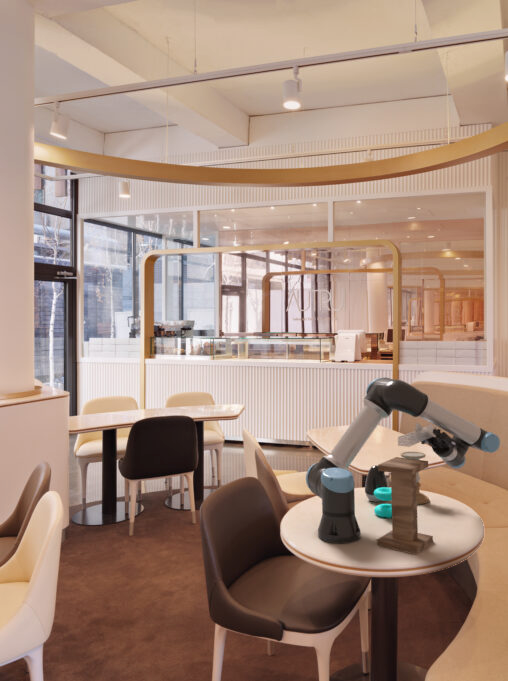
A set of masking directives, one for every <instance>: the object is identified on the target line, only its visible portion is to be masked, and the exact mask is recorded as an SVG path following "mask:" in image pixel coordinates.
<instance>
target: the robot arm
mask: <svg viewBox="0 0 508 681" xmlns="http://www.w3.org/2000/svg"><path fill="white" fill-rule="evenodd" d="M365 393H366V395H365V397H364V398H363V400H362V402H363V406H362V408H361V409H360V410H359V412H358V414H356V416H355V418H354V419H353V421H352V422H351V423H350V425H349V426H348V428H347V429H346V430H345V432H344V433H343V435H342V436H341V437H340V438H339V440H338V441H337V443H336V444H335V446H334V447H333V449H332V450H331V452H330V453H329V454H328V455H322V457H321V458H320V460H319V461H318V462H315V463H313V464H312V465H311V466H310V467H309V468H308V470H306V474H305V482H306V485H307V488H308V489H309V490H310V491H311V493H312V494H314V495H315V496H317V497H318V498H320V499H321V506H322V510H321V511H322V515H321V518H320V522H319V525H318V529H317V536H318V538H319V539H320V540H322V541H324V542H327V543H331V544H333V543H334V544H349V543H354V542H357V541H358V540H360V538H361V528H360V526H359V523H358V520H357V517H356V513H355V512H356V507H355V504H356V503H355V486H356V485H355V479H354V478H355V477H354V474H353V473H352V472H351V471H350V470H349V469H348V468H349V467H350V465H351V464H352V463H353V461H354V460H355V458H356V457H357V456H358V454H359V452H360V451H361V449H362V448H363V447H364V445H365V444H366V443H367V441H368V439H369V438H370V437H371V435H372V433H373V432H374V431H375V430H376V428H377V426H378V425H379V424H380V423H381V421H382V420H383V419H387V418H389V417H390V415H391V414H392V412H393V411H398V412H400V413H405V414H408V415H409V416H412V417H414V418H418V417H419V418H421V419H423V420H424V421H426V422H429V423H428V425H427V427H428V429H427V431H428V432H429V433H430V434H431V435H432V436H433V437H431V438H429V439H426V440H424V441H422V442H420V443H421V445H425V444H428V445H429V446H430V447H431V449H432V451H433V453H435V454H436V455H437V456H438V457H440V459H441V460H442V461H443V462H444V463H445V464H446V465H447V466H449V467H450V468H452V469H460V468H463V466H464V465H465V464H466V456H465V455H467V454H466V453H467V452H468V450H469V449H470V448H473V449H476V450H480V451H483V452H484V453H495V452H497V451H498V450H499V448H500V445H501V439H500V437H499V436H498V435H497V434H495V433H493V432H490V431H486V430H485V429H483V428H481V427H479V426H478V425H476V424H475V423H473V422H471V421H469V420H467V419H466V418H464V417H462V416H460V415H458V414H457V413H454V412H453V411H451V410H450V409H447V408H445V407H444V406H442V405H440V404H438V403H437V402H435V401H433V400H431V399H430V398H429V396H428V394H426V393H424V392H423V391H421V390H420V389H418V388H416V387H415V386H413V385H411V384H410V383H409V382H406V381H404V380H401V379H394V378H390V377H379V378H375V379H373V380H372V381H371V382H369V383H368V385H367V387H366V392H365ZM433 425H434V426H433ZM423 427H424V426H422V425H421V424H420V423H419V422H415V427H414V431H415V430H418V429H421V428H423ZM434 427H436V429H435V428H434ZM437 428H438V429H437ZM442 430H444V431H442ZM441 431H442V432H441ZM447 433H449V434H451V436H452V437H451V436H449V435H448V434H447Z"/></svg>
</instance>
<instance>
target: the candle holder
mask: <svg viewBox="0 0 508 681" xmlns="http://www.w3.org/2000/svg"><path fill="white" fill-rule="evenodd" d="M426 456H427V455H426V453H424V452H421V451H404V452H401V453H400V458H407V459H415V460H421V459H424V458H425V457H426ZM419 473H420V472H417V473H416V483H417V505H425V504H427V503H429V500H430V498H429V496H427V495H426V494H425V493H422V492H420V488H421V486H422V485H421V483H420V481H421V477H420V474H419Z"/></svg>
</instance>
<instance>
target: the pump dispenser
mask: <svg viewBox="0 0 508 681" xmlns="http://www.w3.org/2000/svg"><path fill="white" fill-rule="evenodd" d="M384 472H385V471H378V464H377V465H373V466H371V467H370V469H369V470H368V473H367V475H366V478H365V484H364V493H365V496H366V497H367V499H368V500H369V501H371V502H373V503H381V502H384V500H380V499H378V498H376V497H375V496H374V491H375V490H376V489H377V488H382V487H388V483H387V479H386V476H385V473H384Z"/></svg>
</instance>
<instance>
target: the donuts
mask: <svg viewBox="0 0 508 681" xmlns="http://www.w3.org/2000/svg"><path fill="white" fill-rule="evenodd" d="M374 496H375V497H376V498H378V499H380V500H384V501H386V502H387V501H388V502H390V501H391V502H392V495H391V487H390V488H389V487H382V488H377V489H376V490H375V491H374ZM384 501H383V502H384ZM373 511H374V514H375V515H376V516H378V517H380V518H384V517H386V519H392V518H391V517H392V503H381V504H378V505H376V506H375V507H374V510H373Z"/></svg>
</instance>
